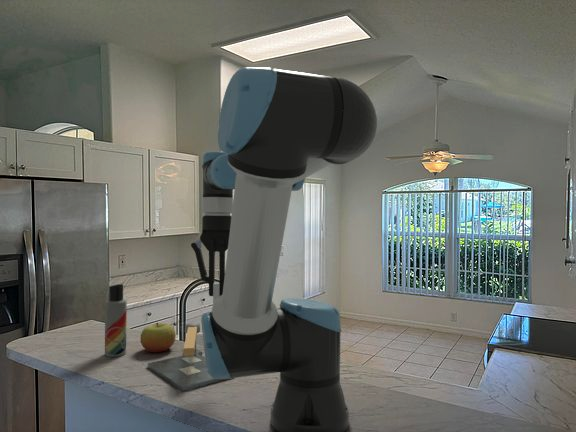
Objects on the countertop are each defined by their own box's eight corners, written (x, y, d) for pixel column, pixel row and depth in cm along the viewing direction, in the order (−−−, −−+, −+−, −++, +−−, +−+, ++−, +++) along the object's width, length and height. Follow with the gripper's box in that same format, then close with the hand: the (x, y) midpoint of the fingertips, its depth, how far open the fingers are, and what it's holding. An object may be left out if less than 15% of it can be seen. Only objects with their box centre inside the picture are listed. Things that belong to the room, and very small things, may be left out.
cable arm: (186, 330, 122) (186, 322, 122) (200, 329, 123) (200, 322, 123) (180, 357, 99) (180, 347, 99) (197, 356, 99) (197, 346, 99)
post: (202, 354, 120) (202, 333, 120) (189, 357, 117) (189, 335, 117) (195, 351, 123) (195, 330, 123) (183, 353, 120) (183, 332, 120)
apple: (153, 343, 130) (153, 317, 130) (181, 346, 127) (181, 320, 127) (133, 353, 121) (133, 325, 121) (163, 356, 118) (163, 328, 118)
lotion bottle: (118, 358, 117) (119, 286, 117) (100, 356, 118) (101, 285, 118) (130, 351, 122) (130, 283, 122) (112, 350, 123) (113, 282, 123)
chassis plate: (234, 377, 103) (234, 372, 103) (182, 391, 94) (182, 386, 94) (195, 356, 119) (196, 351, 119) (147, 367, 110) (147, 362, 110)
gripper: (244, 215, 109) (243, 305, 109) (193, 214, 108) (192, 305, 108) (243, 215, 102) (242, 312, 102) (188, 214, 101) (187, 312, 101)
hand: (216, 308), depth 105 cm, fingers closed
